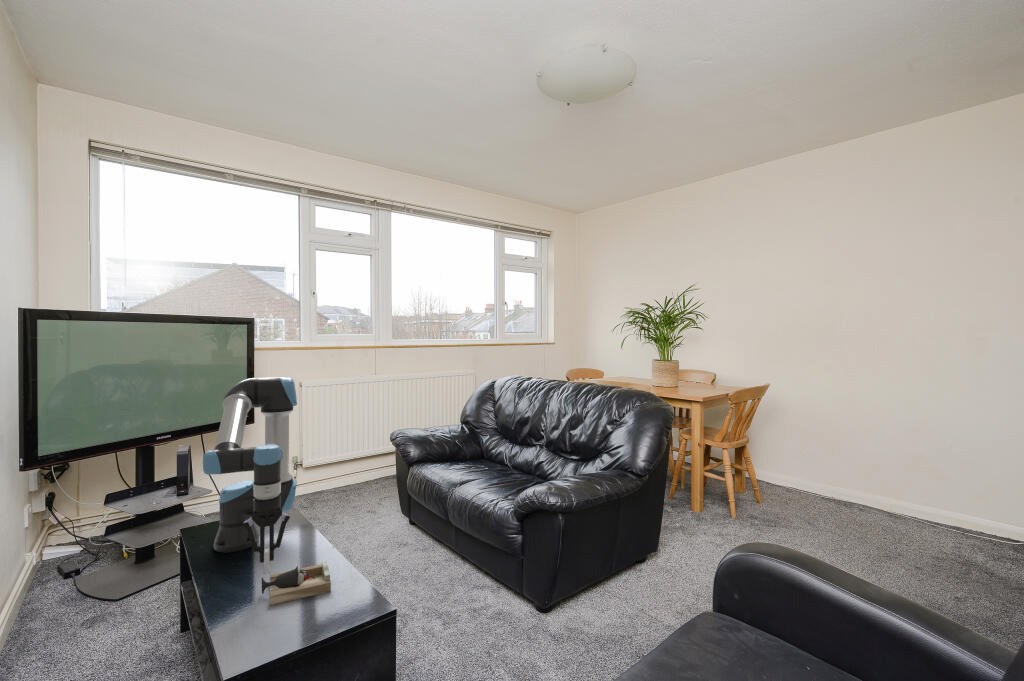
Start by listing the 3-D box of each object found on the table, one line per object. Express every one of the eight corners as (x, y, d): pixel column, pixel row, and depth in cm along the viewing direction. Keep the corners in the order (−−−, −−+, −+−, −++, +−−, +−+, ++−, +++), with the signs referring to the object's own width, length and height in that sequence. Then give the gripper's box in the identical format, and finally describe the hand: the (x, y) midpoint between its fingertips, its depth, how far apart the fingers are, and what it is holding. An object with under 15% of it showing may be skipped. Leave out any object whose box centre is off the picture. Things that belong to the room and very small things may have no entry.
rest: (270, 584, 148) (270, 570, 148) (326, 571, 156) (326, 559, 156) (270, 606, 136) (270, 591, 136) (330, 591, 144) (330, 577, 144)
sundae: (261, 595, 137) (315, 582, 143) (261, 572, 140) (314, 559, 147) (263, 600, 142) (315, 586, 148) (262, 577, 145) (313, 564, 152)
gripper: (242, 502, 136) (241, 582, 135) (290, 496, 142) (290, 572, 141) (243, 495, 142) (243, 570, 142) (290, 489, 148) (289, 561, 148)
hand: (266, 571), depth 142 cm, fingers closed
